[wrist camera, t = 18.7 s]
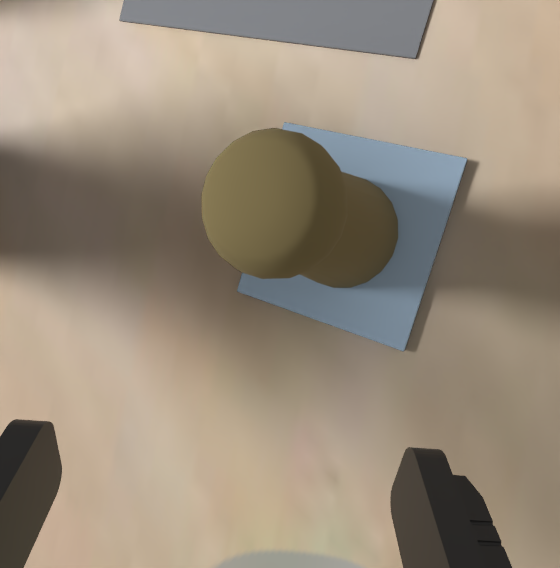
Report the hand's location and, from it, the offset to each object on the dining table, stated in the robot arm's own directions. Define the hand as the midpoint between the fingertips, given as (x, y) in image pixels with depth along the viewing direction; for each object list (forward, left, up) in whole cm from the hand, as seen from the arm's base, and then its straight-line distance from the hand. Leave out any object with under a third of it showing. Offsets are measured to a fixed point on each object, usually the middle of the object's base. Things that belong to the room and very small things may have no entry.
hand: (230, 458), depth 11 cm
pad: (-3, +6, -15) cm, 17 cm away
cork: (-3, +6, -15) cm, 17 cm away
